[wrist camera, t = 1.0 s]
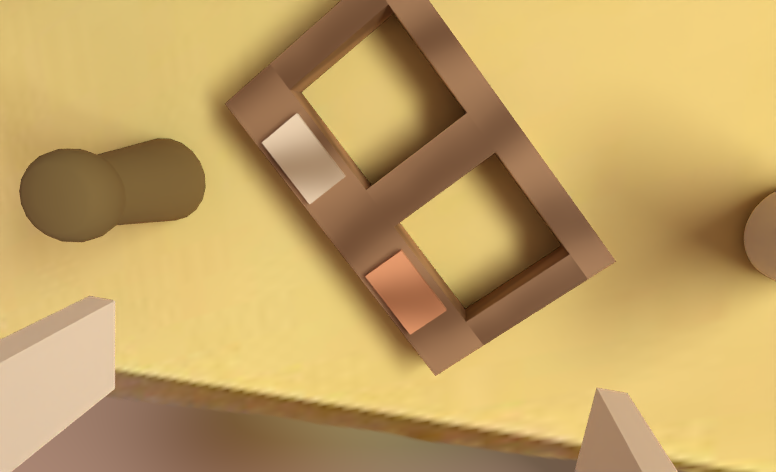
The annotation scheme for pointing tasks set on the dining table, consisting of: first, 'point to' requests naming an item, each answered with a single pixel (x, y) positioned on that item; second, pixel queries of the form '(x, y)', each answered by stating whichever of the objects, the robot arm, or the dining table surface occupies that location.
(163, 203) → the cork
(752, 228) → the beverage can
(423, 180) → the caddy
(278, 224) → the dining table surface
